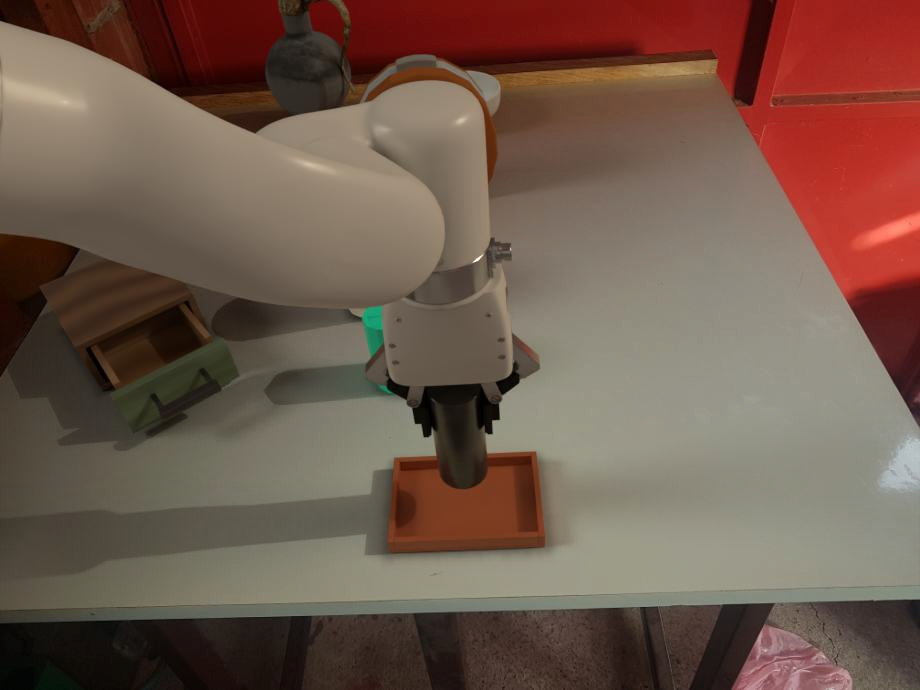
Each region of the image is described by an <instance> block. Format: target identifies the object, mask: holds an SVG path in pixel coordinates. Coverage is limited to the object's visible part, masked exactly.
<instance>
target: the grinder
mask: <svg viewBox="0 0 920 690" xmlns="http://www.w3.org/2000/svg"><path fill="white" fill-rule="evenodd" d="M426 392H427V398H428V405H429V411H430V418H431V424H432V436H433V442H434V443H433V444H434V450H435V456H437V463H438V469H439V474H440V477H441V479H442V480H443V482H444V483H446V484H447V485H448V486H450V487H452V488H456V489H469V488H473V487H475V486H477V485H479V484H480V483H481V482H482V481H483V480H484V479H485V477H486V475H487V473H488V458H487V453H488V446H487V433H485V428H484V415H483V390H482V386H481V384H480V383H475V384H458V385H438V386H426Z"/></svg>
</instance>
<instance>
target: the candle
mask: <svg viewBox="0 0 920 690" xmlns="http://www.w3.org/2000/svg"><path fill="white" fill-rule="evenodd" d="M361 321H362V324H363V329H364V333H365V338H366V342H367V346H368V351H369V355H370V356H369V357H370V358H371V357H372V356H373V355H374V354H375V352H376V351H377V350H378V349H379V348H380V346H381V345H382V344H383V343H384V336H383V325H382V306H377V307H371V308H366V309H365V311H364V313H363V315H362V317H361ZM377 386H378V388H379V389H380V390H382V391H384V392H385V393H387V394H389V395H395V394H394V393H392V392H390V391H389V390H388V389H387V387H386V386H384V385H383V386H381V385H379V384H377Z"/></svg>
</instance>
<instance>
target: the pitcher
mask: <svg viewBox="0 0 920 690" xmlns="http://www.w3.org/2000/svg"><path fill="white" fill-rule="evenodd" d="M320 1H322V0H277V4H278V5H277V6H278V11H279V13H280V14H281V18H282V23H283V28H284V32H285V34H284V35H282V36H281V37H279V38H278V39H277V40H276V41H275V42H274V43H273V45H272V46H271V48H270V49H269V51H268V54H267V57H266V60H265V66H264V67H265V69H264V74H265V80H266V83H267V87H268V88H269V90H270V92H271V94H272V96H273V98H274V100H275V101H276V103H277V104H278V105H279V106H280V107H281V108H282V109H283V110H285V112H288V113H290V115H292V116H295V115H300V114H305V113H311V112H317V111H323V110H329V109H335V108H341V107H342V105H343V104H344V103H345V101H346V99H347V97H348V95H349V92H350V91H351V92H352V93H353V94H354V95H355V96H358V93H357V89H356V88H355V87H354V85H355V84H354V83H353V82H352V73H351V70H352V69H351V66H350V63H349V60H348V58H347V56H346V53H347V50H348V46H349V42H350V35H351V27H352V23H351V19H350V18H351V17H350V12H349V10H348V8H347V6H346V5H345V2H344V1H343V0H323V2H328V3H330V4H332V5H333V6H334V7H335V8H336V9H337V10H338V12H339V14H340V16H341V18H342V19H341V20H342V23H343V30H342V31H343V42H342V46H341V45H340V44H339V42H337V41H336V40H335V39H333V38H332V37H331V36H329V35H327V34H325V33H323V32H321V31H316V30H313V26H312V21H311V16H310V10H311V6H310V4H312V3H318V2H320Z"/></svg>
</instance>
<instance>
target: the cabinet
mask: <svg viewBox="0 0 920 690" xmlns="http://www.w3.org/2000/svg"><path fill="white" fill-rule="evenodd" d="M38 287H39V289H40V291H41V293H42V294H43V296H44V297H45V300H46V302H47V303H48V304H49V306H50V308H51V309H52V311H53V313H54V314H55V316H56V318H57V320H58V321H59V323H60V325H61V327H62V328H63V330H64V332H65V334H66V335H67V337H68V339H69V340H70V342H71V343H72V345H73V347H74V349H75V350H76V352H77V353H78V355H79V357H80V358H81V360H82V361H83V363H84V364H85V367H87V369H88V371H89V373H90V374H91V376H92V378H93V379H94V380H95V382H96V383H97V385H98V387H99V389H100V390H101V391H102V392H104V391H106V390H108V389H110V388H113V387H114V386H113V384H112V383H111V381H110V380H109V378H108V376H107V375H106V373H105V371H104V370H103V368H102V367H101V365H100V363H99V362H98V360H97V358H96V357H95V355H94V353H93V352H92V350H91V348H90V346H92V345H94V344H96V343H98V342H100V341H102V340H104V339H106V338H109V337H111V336H113V335H115V334H117V333H119V332H121V331H123V330H126V329H128V328H130V327H132V326H134V325H136V324H138V323H140V322H142V321H145V320H147V319H149V318H151V317H153V316H155V315H157V314H159V313H161V312H164V311H166V310H168V309H170V308H172V307H174V306H176V305H178V304H180V303H184V304H185V305H186V306H187V307H188V309H189V310H190V311H191V312H192V313H193V315H194V316H195V317H196V318H197V319H198V321H199V322H200V323H201V324H202V325H203V327H204V328H205V329H206V330H207V331H208V333H209V334H210V335H211V333H210V330H209V328H208V325H207V324H206V321H205V319H204V316H203V314H202V312H201V310H200V308H199V307H200V306H199V305H198V303H197V300H196V298H195V296H194V294H193V291H191V289H190V288H189V287H188V286H187V285H186V283H185V282H182V281H179V280H176V279H172V278H169V277H166V276H163V275H159V274H156V273H152V272H149V271H145V270H142V269H138V268H134V267H131V266H127V265H124V264H121V263H118V262H114V261H111V260H109V259H106V258H103V259H100V260H98V261H95V262H93V263H91V264H89V265H85V266H84V267H81V268H79V269H76V270H73V271H72V272H70V273H68V274H64V275H62V276H60V277H58V278H56V279H52V280H51V281H49V282H45V283H44V284H41V285H39V286H38Z"/></svg>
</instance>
